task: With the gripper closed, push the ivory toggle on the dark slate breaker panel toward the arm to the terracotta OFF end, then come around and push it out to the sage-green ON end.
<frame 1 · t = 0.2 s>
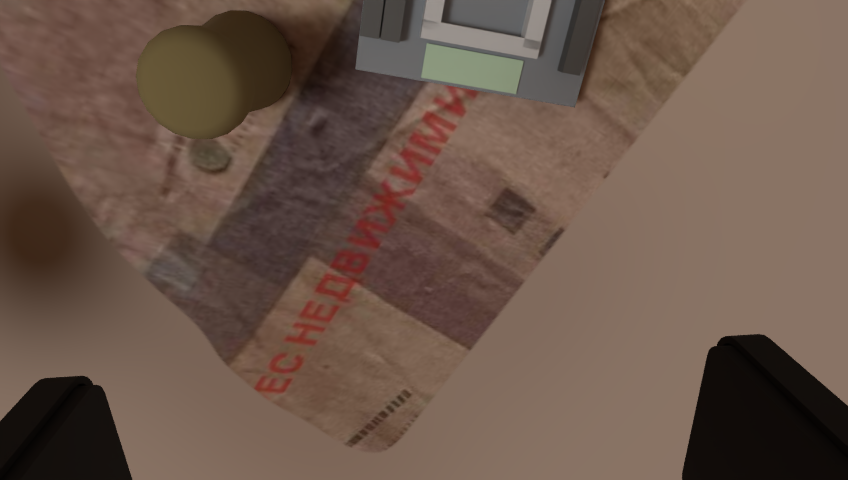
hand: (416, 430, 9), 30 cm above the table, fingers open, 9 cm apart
olive brown pawn: (244, 61, 35), on the table
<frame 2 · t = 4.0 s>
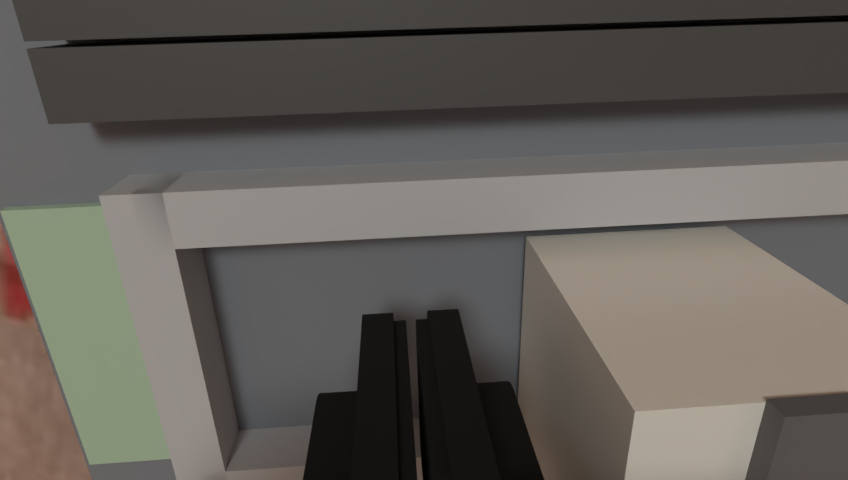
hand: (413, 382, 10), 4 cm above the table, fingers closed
toggle: (677, 402, 9), point 5 cm above the table, slide at -0.8 cm, touching gripper
panel: (549, 272, 14), on the table
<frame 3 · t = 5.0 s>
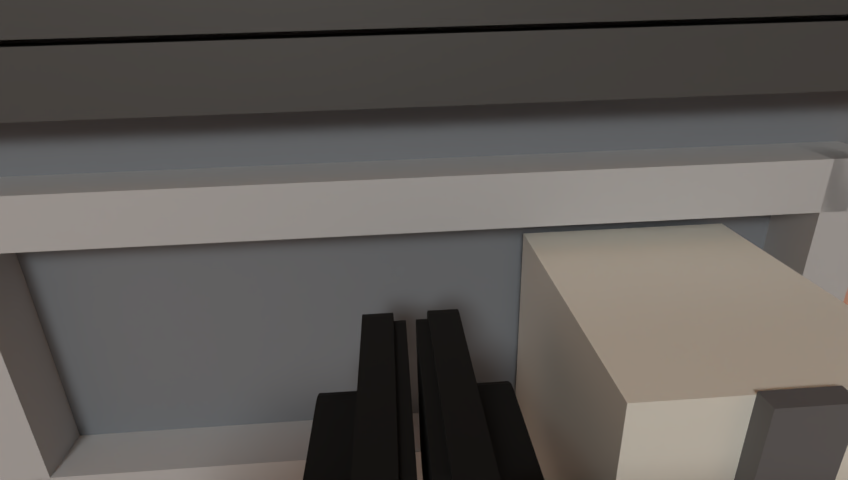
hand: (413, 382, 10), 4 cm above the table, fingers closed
toggle: (672, 397, 9), point 5 cm above the table, slide at -4.3 cm, touching gripper
panel: (406, 277, 14), on the table
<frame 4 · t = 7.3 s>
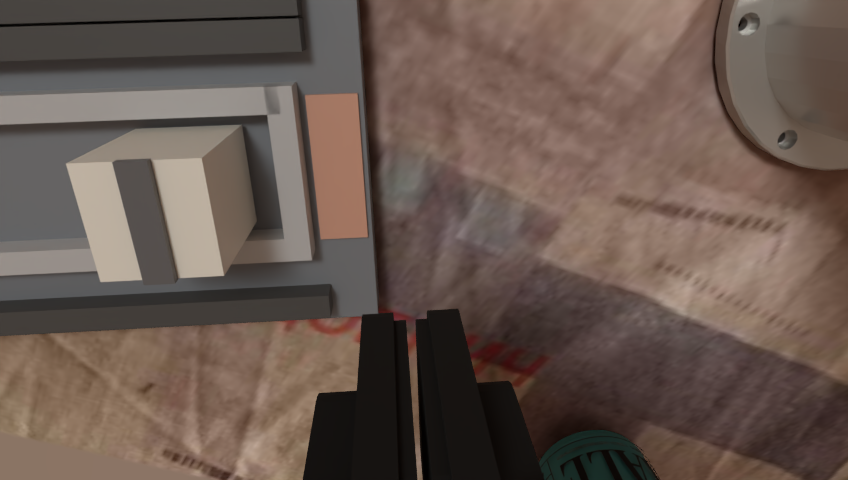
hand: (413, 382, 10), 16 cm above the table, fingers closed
toggle: (175, 198, 19), point 5 cm above the table, slide at -4.3 cm
panel: (115, 165, 24), on the table
beverage bottle: (578, 447, 32), on the table
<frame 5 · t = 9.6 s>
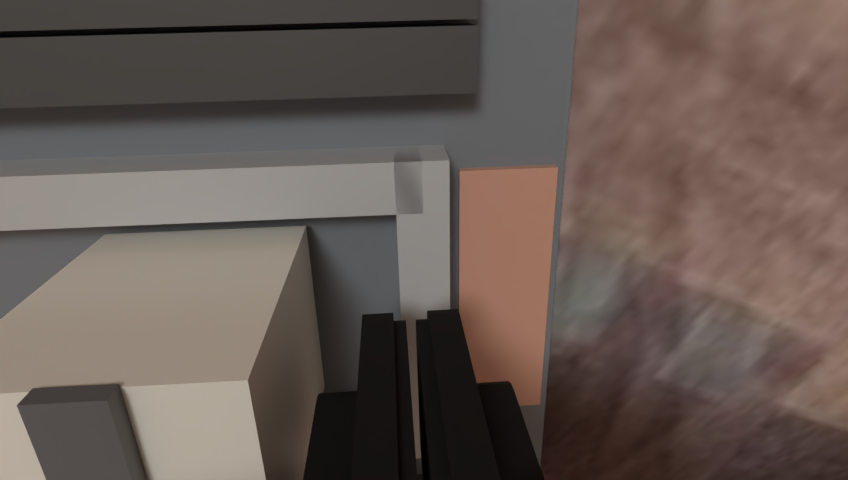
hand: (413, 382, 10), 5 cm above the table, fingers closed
toggle: (180, 395, 9), point 5 cm above the table, slide at -3.6 cm, touching gripper
panel: (101, 274, 14), on the table
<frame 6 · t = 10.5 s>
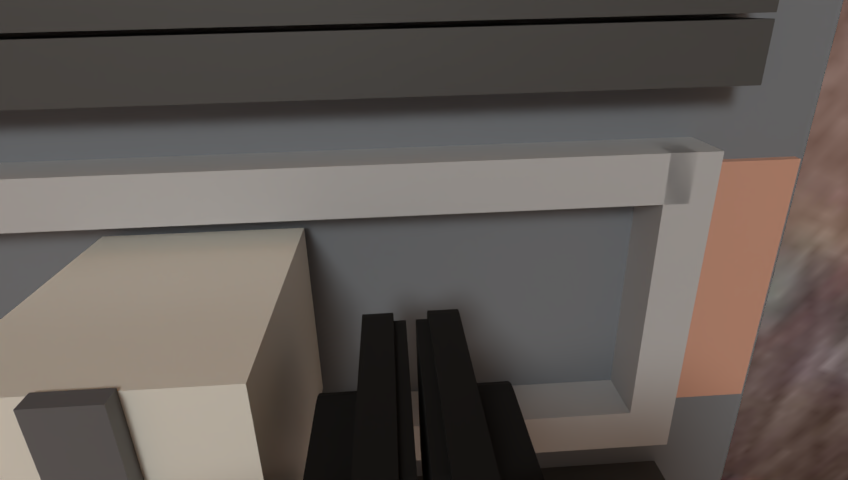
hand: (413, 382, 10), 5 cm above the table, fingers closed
toggle: (177, 398, 9), point 5 cm above the table, slide at 1.5 cm, touching gripper
panel: (304, 267, 14), on the table
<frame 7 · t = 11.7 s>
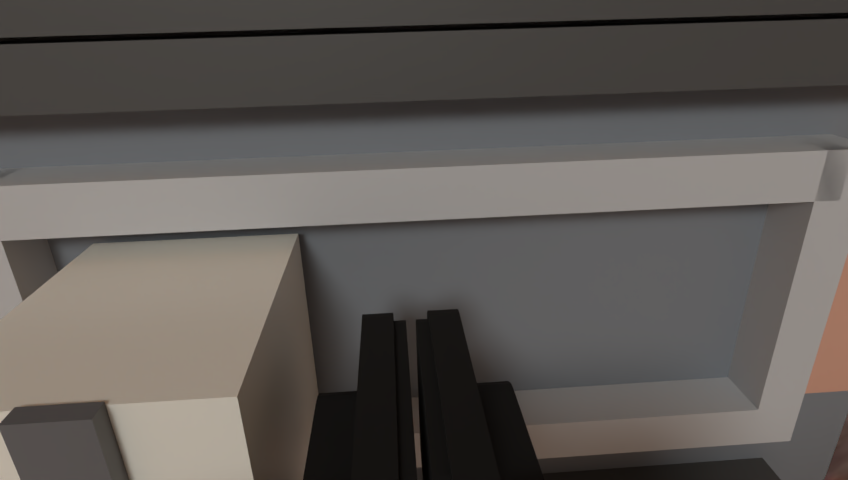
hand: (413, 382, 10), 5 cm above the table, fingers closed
toggle: (169, 408, 9), point 5 cm above the table, slide at 4.5 cm, touching gripper
panel: (417, 266, 14), on the table
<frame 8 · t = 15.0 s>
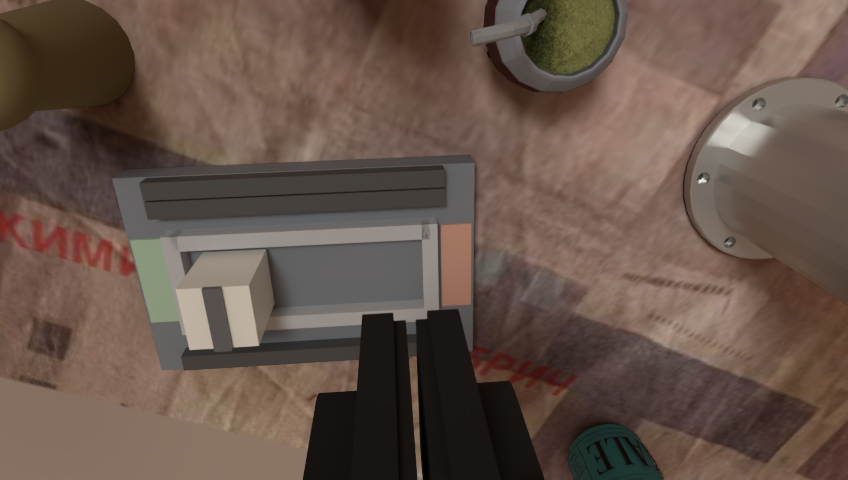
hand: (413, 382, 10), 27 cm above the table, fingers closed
olive brown pawn: (82, 53, 32), on the table
toggle: (229, 298, 33), point 5 cm above the table, slide at 4.5 cm
panel: (312, 259, 38), on the table
beverage bottle: (596, 436, 47), on the table
mate gourd: (519, 22, 33), on the table
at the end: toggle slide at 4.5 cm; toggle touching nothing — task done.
